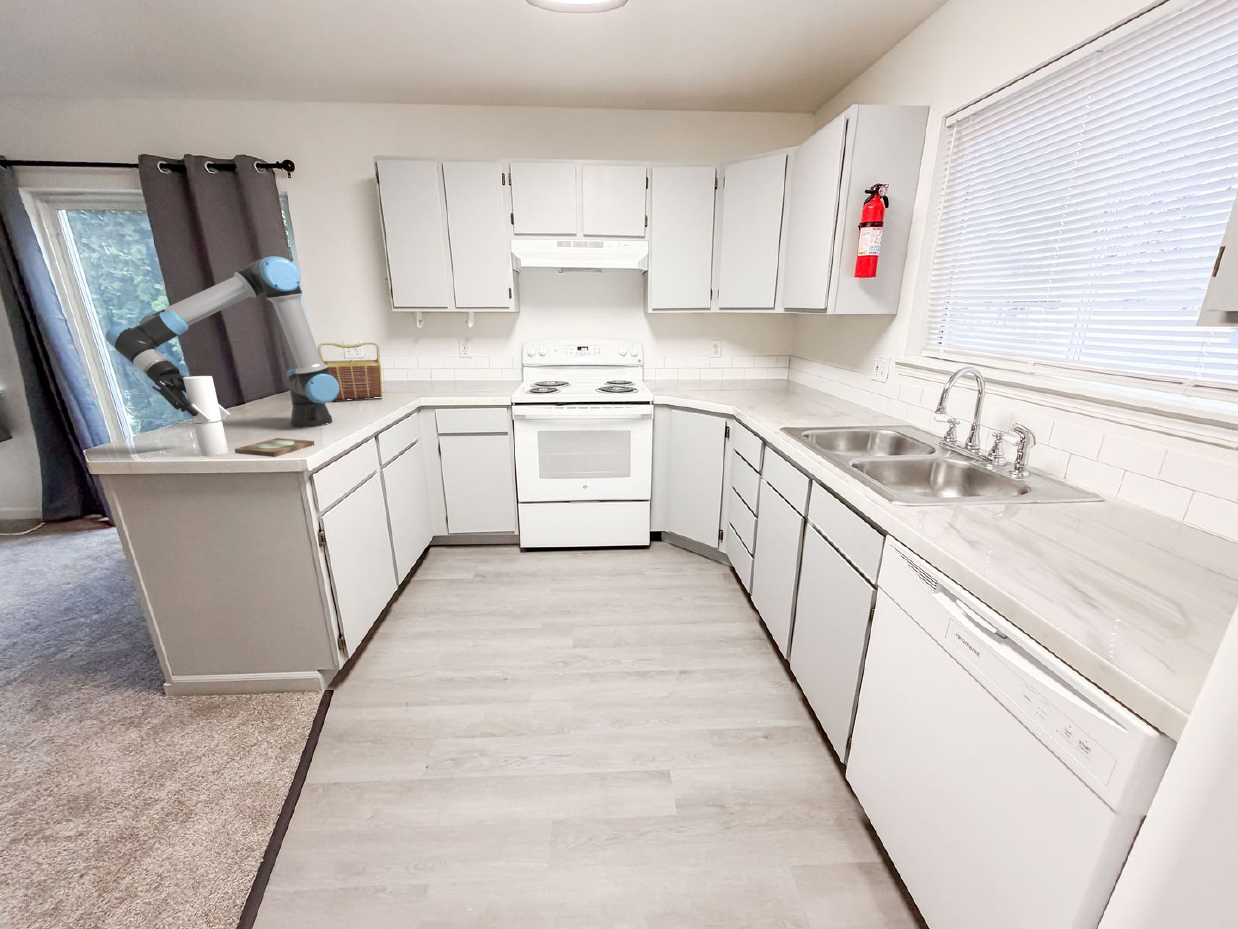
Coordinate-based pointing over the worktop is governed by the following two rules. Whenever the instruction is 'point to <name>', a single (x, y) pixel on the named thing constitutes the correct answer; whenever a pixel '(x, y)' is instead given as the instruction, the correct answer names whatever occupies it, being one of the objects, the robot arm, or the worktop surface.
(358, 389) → the picnic basket
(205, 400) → the cylindrical container
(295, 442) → the board
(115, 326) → the robot arm
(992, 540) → the worktop surface
